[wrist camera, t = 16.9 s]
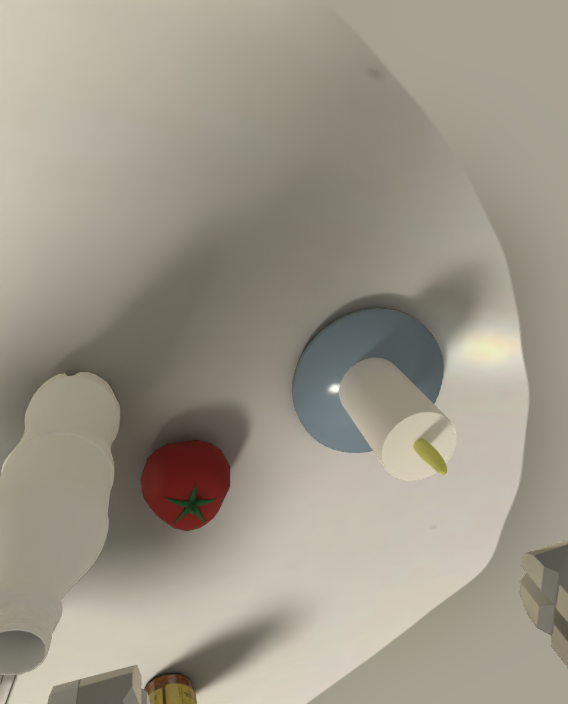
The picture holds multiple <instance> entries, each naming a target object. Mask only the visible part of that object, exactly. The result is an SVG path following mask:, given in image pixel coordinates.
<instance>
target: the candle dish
mask: <svg viewBox="0 0 568 704" xmlns="http://www.w3.org/2000/svg"><path fill="white" fill-rule="evenodd" d="M368 358H383V359H386V360H388V361H390V362H391V363H393V364H394V365H395V366H396V367H397V368H398V369H399V370H400V371H401V372H402V373H403V374H404V375H405V376H406V377H407V378H408V379H409V380H410V381H411V382H412V383H413V384H414V385H415V386H416V387H417V388H418V389H419V390H420V391H421V392H422V393H423V394H424V395H425V396H426V397H427V398H428V399H429V400H430V401H431V402H432V403H433V404H434V403H435V401H436V399H437V397H438V394H439V391H440V388H441V384H442V378H443V361H442V355H441V352H440V348H439V346H438V344H437V342H436V340H435V338H434V337H433V335H432V334H431V333H430V331H429V330H428V329H427V328H426V327H425V326H424V325H422V324H421V323H420V322H419V321H417V320H416V319H415V318H413V317H411V316H409V315H408V314H405V313H403V312H400V311H397V310H393V309H386V308H369V309H364V310H359V311H355V312H352V313H349V314H347V315H345V316H342V317H340V318H338V319H337V320H335V321H333V322H332V323H330V324H329V325H327V326H326V327H325V328H324V329H322V330H321V331H320V332H319V333H318V334H317V335H316V336H315V337H314V338H313V339H312V341H311V342H310V343H309V344H308V346H307V347H306V349H305V350H304V352H303V353H302V355H301V357H300V359H299V362H298V364H297V367H296V370H295V373H294V378H293V386H292V395H293V403H294V406H295V410H296V412H297V415H298V417H299V419H300V421H301V423H302V425H303V426H304V428H305V429H306V431H307V432H308V433H309V434H310V435H311V436H312V437H313V438H314V439H316V440H317V441H318V442H320V443H321V444H323V445H325V446H327V447H329V448H331V449H334V450H338V451H342V452H349V453H362V452H370V451H373V450H372V448H371V447H370V445H369V444H368V442H367V441H366V439H365V438H364V436H363V435H362V433H361V432H360V431H359V429H358V428H357V426H356V425H355V423H354V422H353V420H352V419H351V417H350V416H349V414H348V413H347V411H346V410H345V408H344V407H343V405H342V403H341V401H340V398H339V387H340V383H341V381H342V379H343V377H344V375H345V373H346V372H347V371H348V370H349V369H350V368H351V367H352V366H353V365H355V364H356V363H357V362H360V361H362V360H364V359H368Z"/></svg>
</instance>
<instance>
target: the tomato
mask: <svg viewBox="0 0 568 704" xmlns="http://www.w3.org/2000/svg"><path fill="white" fill-rule="evenodd" d="M141 485H142V492H143V496H144V499H145V501H146V502H147V504H148V505H149V507H150V508H151V509H152V510H153V512H154V513H155V514H156V515H157V516H158V517H159V518H161V519H162V520H163V521H165V522H166V523H167V524H169V525H170V526H172V527H173V528H176V529H180V530H185V531H189V530H193V529H198V528H200V527H202V526H203V525H205V524H206V523H208V522H209V521H210V520H212V519H213V518H214V516H215V515H216V514H217V512H218V511H219V509H220V507H221V505H222V503H223V500H224V498H225V496H226V494H227V492H228V490H229V488H230V466H229V464H228V462H227V460H226V458H225V456H224V454H223V453H222V451H221V450H220V449H218V448H217V447H215V446H214V445H212V444H210V443H206V442H202V441H198V440H193V441H186V442H179V443H172V444H166V445H165V446H163V447H161V448H159V449H157V450H156V451H154V452H153V453H152V455H151V456H150V457H149V458H148V459H147V461H146V464H145V467H144V470H143V473H142V477H141Z"/></svg>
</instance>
